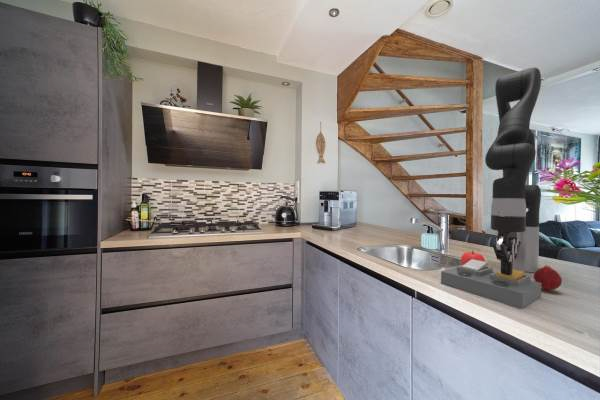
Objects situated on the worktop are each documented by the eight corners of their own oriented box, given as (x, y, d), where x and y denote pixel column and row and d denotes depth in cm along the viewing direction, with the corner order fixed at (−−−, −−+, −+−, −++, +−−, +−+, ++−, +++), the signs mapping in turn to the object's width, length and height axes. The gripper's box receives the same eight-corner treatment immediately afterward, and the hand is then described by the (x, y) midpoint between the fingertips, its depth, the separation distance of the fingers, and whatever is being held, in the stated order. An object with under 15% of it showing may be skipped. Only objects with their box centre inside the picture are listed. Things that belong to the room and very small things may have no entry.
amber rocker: (505, 271, 72) (505, 267, 72) (524, 275, 68) (524, 271, 68) (495, 276, 69) (495, 271, 69) (515, 280, 65) (515, 276, 65)
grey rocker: (472, 262, 80) (471, 258, 80) (487, 265, 76) (487, 262, 76) (462, 269, 76) (461, 266, 76) (477, 273, 73) (477, 269, 73)
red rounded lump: (567, 295, 67) (568, 268, 67) (543, 293, 68) (544, 266, 68) (550, 287, 73) (550, 262, 73) (528, 286, 74) (529, 261, 74)
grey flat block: (462, 275, 83) (463, 261, 83) (541, 296, 66) (541, 278, 66) (440, 283, 76) (441, 267, 76) (522, 309, 59) (522, 288, 59)
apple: (464, 273, 86) (464, 252, 86) (456, 267, 94) (457, 247, 94) (489, 276, 84) (490, 253, 84) (480, 269, 91) (480, 249, 91)
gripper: (501, 213, 74) (499, 267, 74) (481, 213, 67) (480, 274, 67) (533, 214, 67) (532, 274, 67) (516, 215, 60) (514, 282, 60)
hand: (506, 274), depth 67 cm, fingers closed
